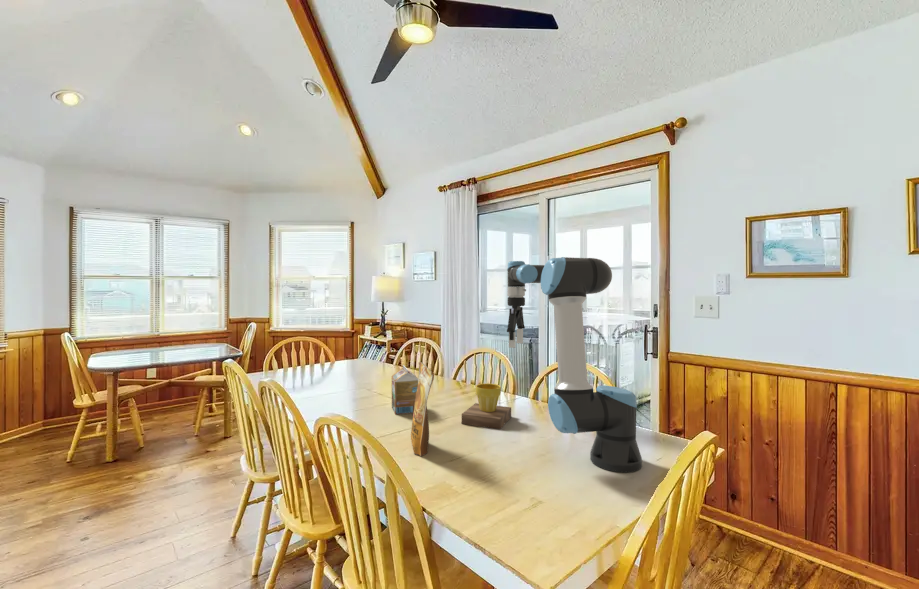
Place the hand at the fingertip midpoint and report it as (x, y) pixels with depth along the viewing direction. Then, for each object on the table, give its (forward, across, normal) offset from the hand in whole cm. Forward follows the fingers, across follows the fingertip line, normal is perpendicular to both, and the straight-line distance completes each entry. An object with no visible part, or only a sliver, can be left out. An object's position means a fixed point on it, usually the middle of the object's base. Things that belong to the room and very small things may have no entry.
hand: (516, 345), depth 184 cm
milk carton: (+29, -16, +46) cm, 57 cm away
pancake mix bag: (+29, -52, +20) cm, 62 cm away
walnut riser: (+29, -17, +8) cm, 34 cm away
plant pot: (+25, -15, +8) cm, 30 cm away
